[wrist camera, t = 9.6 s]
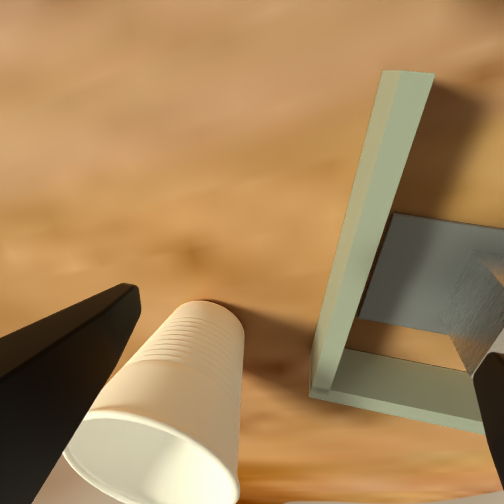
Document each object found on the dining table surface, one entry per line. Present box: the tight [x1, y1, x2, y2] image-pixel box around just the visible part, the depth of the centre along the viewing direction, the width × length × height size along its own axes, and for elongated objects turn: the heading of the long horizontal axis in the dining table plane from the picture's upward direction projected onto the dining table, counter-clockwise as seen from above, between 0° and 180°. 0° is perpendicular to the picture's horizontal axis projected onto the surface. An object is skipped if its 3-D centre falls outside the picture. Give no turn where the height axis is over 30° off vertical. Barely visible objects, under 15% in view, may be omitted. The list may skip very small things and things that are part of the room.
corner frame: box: [309, 70, 485, 435], centre depth 17 cm, size 20×16×4 cm
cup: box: [63, 301, 245, 504], centre depth 21 cm, size 10×10×11 cm
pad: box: [358, 213, 504, 335], centre depth 20 cm, size 8×11×1 cm
